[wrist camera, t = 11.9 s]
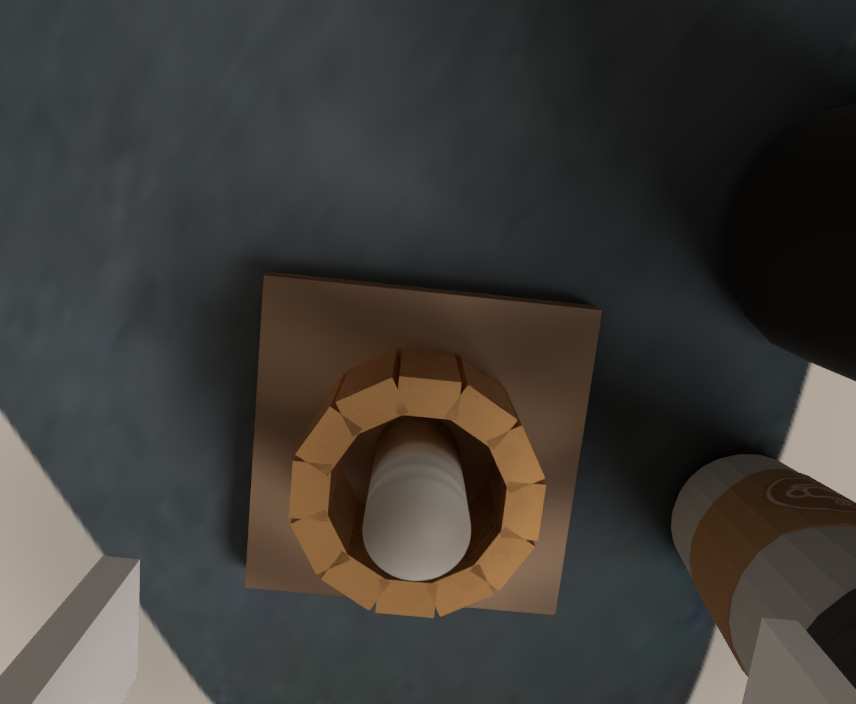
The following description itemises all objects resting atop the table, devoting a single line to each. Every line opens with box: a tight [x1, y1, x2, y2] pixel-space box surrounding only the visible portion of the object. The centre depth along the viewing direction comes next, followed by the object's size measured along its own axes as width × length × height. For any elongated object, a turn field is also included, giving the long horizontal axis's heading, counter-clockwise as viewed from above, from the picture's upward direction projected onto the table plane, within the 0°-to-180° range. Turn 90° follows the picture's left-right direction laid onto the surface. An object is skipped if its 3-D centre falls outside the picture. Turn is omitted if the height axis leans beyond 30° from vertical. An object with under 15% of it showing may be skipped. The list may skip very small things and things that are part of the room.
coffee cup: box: [671, 454, 856, 689], centre depth 27 cm, size 8×8×15 cm
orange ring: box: [289, 348, 546, 618], centre depth 29 cm, size 9×9×5 cm
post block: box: [245, 272, 602, 615], centre depth 29 cm, size 14×14×9 cm
